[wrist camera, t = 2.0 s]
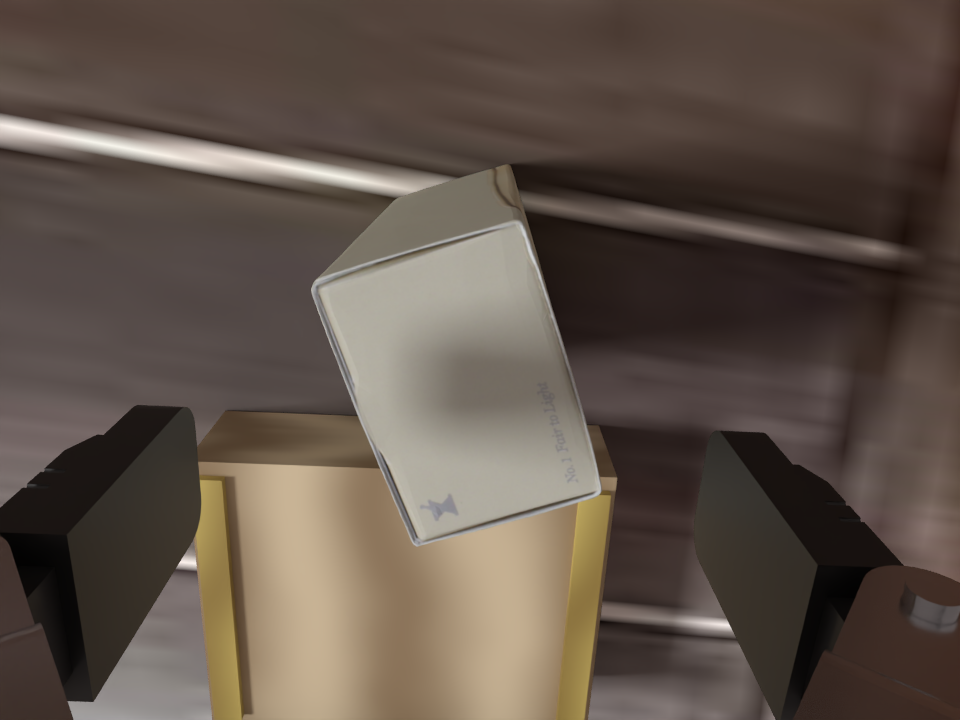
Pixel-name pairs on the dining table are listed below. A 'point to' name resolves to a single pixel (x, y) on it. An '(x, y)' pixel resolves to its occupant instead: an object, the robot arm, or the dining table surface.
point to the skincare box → (458, 360)
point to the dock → (384, 588)
